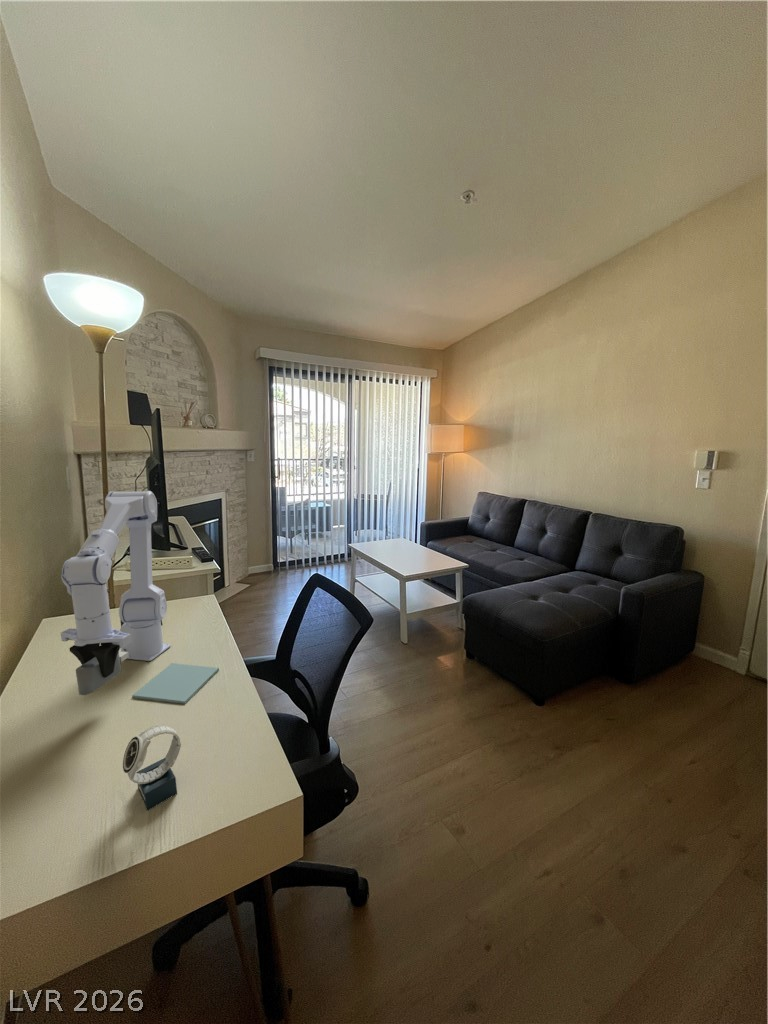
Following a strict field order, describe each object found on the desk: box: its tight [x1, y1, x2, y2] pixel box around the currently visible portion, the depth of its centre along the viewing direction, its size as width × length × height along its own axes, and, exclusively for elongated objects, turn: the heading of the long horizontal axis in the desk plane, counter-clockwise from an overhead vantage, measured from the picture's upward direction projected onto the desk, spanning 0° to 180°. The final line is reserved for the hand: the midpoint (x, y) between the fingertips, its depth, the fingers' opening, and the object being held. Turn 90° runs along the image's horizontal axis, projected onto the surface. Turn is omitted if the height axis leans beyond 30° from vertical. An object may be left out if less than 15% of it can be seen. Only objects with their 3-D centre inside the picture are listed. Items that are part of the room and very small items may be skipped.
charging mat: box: [132, 662, 220, 705], centre depth 93 cm, size 13×13×1 cm
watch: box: [122, 724, 182, 811], centre depth 63 cm, size 6×8×11 cm
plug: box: [75, 650, 129, 696], centre depth 83 cm, size 3×11×5 cm, turn 171°
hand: (100, 673), depth 82 cm, fingers closed on plug, 3 cm apart
